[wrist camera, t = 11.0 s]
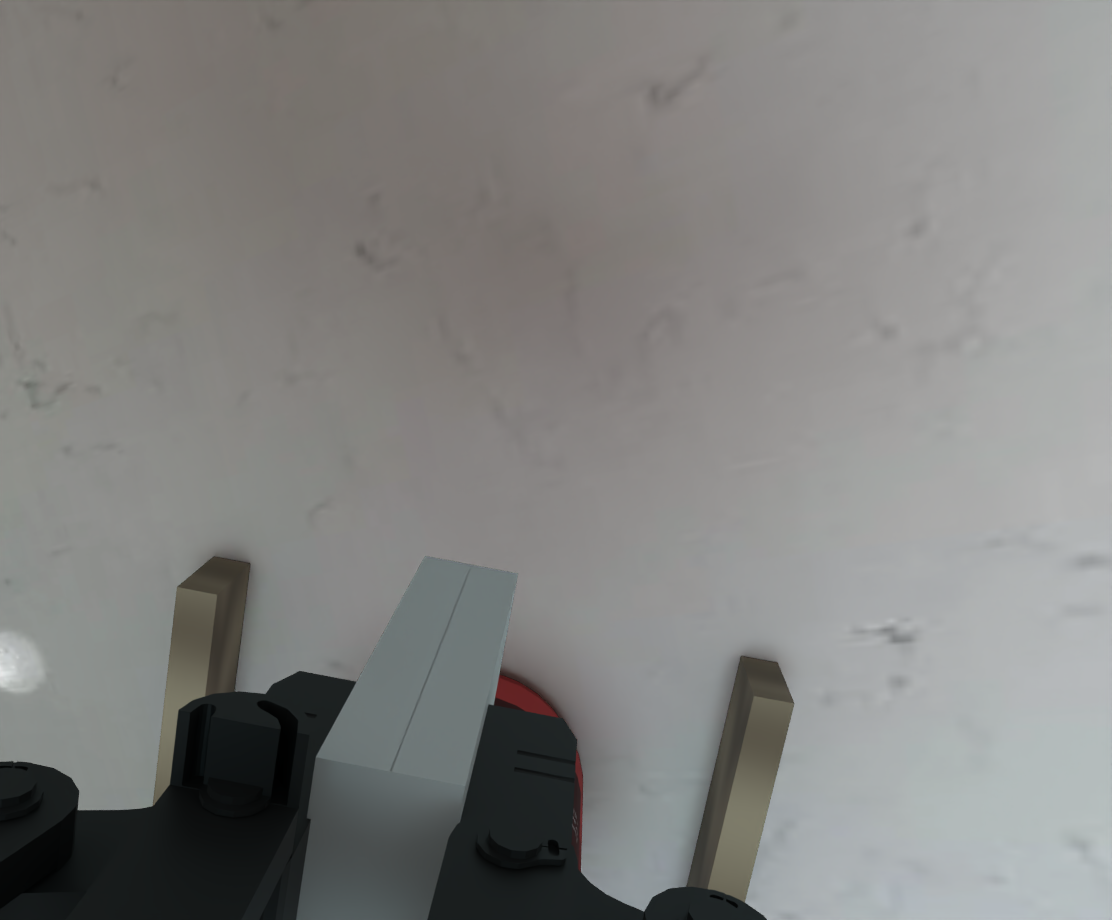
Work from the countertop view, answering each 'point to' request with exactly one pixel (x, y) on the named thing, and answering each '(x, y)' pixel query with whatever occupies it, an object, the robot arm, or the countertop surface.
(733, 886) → the bay
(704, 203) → the countertop surface
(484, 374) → the countertop surface
